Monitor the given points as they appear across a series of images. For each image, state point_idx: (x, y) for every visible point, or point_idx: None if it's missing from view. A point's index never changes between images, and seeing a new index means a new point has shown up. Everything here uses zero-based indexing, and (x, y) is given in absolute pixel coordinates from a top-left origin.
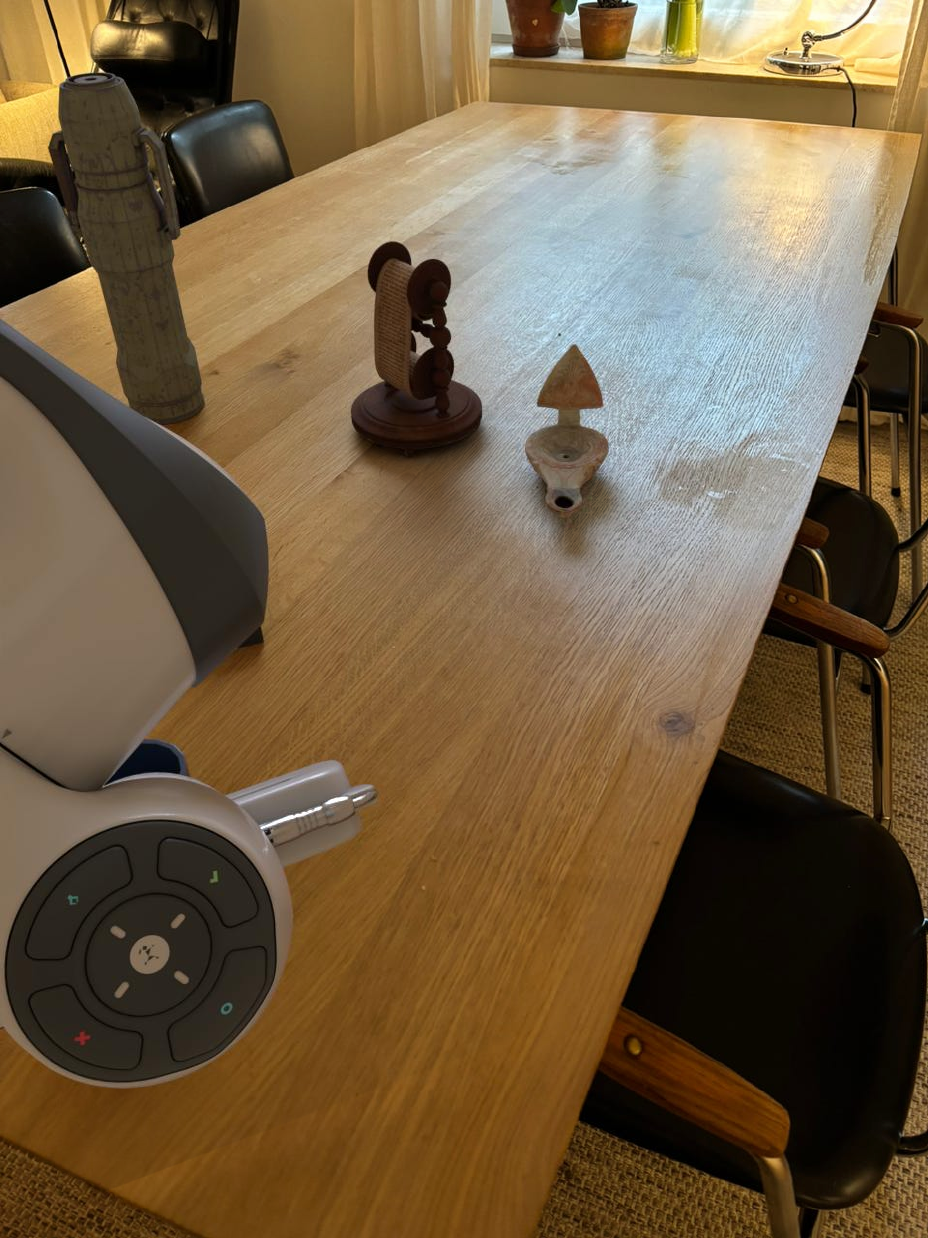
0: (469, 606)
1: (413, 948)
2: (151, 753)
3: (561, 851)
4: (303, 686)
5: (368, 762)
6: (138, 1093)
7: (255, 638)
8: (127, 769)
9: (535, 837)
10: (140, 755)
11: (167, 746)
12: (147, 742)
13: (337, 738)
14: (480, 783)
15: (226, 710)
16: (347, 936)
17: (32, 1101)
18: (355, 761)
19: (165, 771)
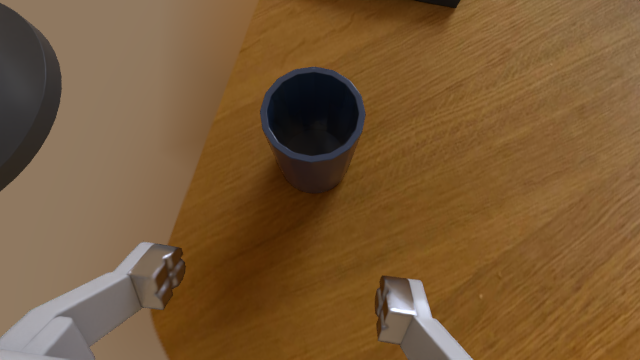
0: (629, 57)
1: None
2: (337, 88)
3: (603, 334)
4: (467, 63)
5: (487, 159)
6: (225, 333)
7: (452, 2)
8: (311, 89)
9: (588, 307)
10: (327, 84)
11: (354, 93)
12: (338, 78)
13: (473, 124)
14: (565, 230)
15: (404, 54)
16: None
17: None
18: (477, 152)
19: (342, 106)
